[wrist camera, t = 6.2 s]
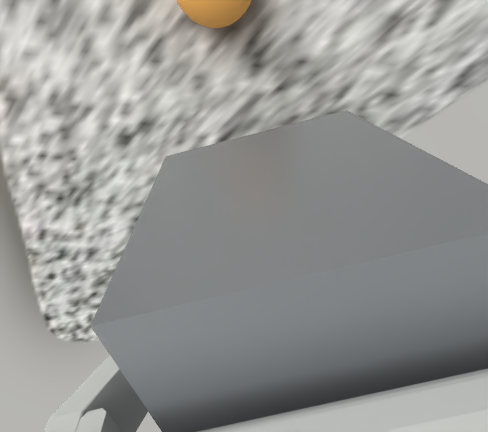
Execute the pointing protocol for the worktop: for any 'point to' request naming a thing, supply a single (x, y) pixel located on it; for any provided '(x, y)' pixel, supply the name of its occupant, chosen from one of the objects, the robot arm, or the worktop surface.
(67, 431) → the robot arm
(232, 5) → the orange ball
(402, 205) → the matte grey cuboid
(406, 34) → the worktop surface
